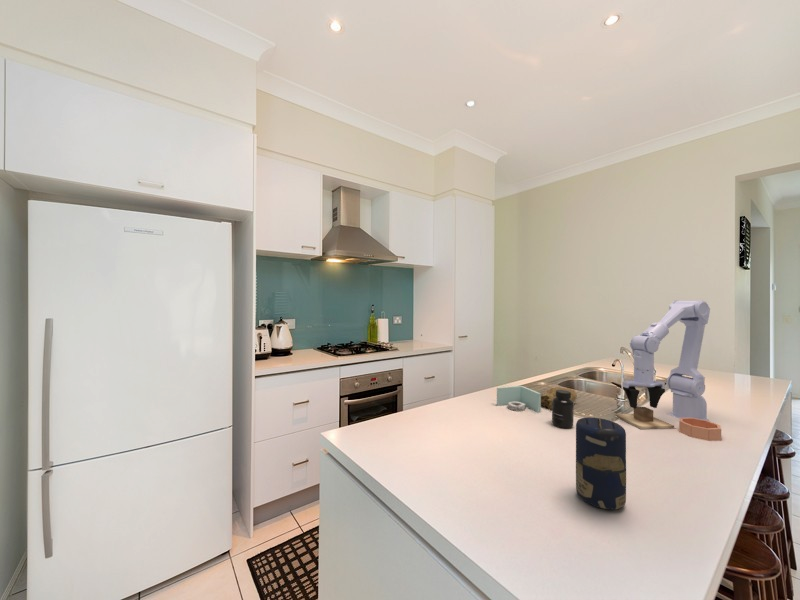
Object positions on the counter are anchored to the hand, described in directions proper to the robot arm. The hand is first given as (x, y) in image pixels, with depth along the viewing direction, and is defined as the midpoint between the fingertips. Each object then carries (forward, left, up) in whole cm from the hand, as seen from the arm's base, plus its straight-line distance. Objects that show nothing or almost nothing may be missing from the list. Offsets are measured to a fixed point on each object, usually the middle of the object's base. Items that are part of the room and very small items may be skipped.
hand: (643, 407), depth 118 cm
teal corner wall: (+38, -18, -6) cm, 43 cm away
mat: (0, 0, -6) cm, 6 cm away
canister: (+46, +42, -6) cm, 63 cm away
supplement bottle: (+30, 0, -6) cm, 31 cm away
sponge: (+18, -23, -6) cm, 30 cm away
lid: (0, 0, -5) cm, 5 cm away
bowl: (-10, +11, -6) cm, 16 cm away
